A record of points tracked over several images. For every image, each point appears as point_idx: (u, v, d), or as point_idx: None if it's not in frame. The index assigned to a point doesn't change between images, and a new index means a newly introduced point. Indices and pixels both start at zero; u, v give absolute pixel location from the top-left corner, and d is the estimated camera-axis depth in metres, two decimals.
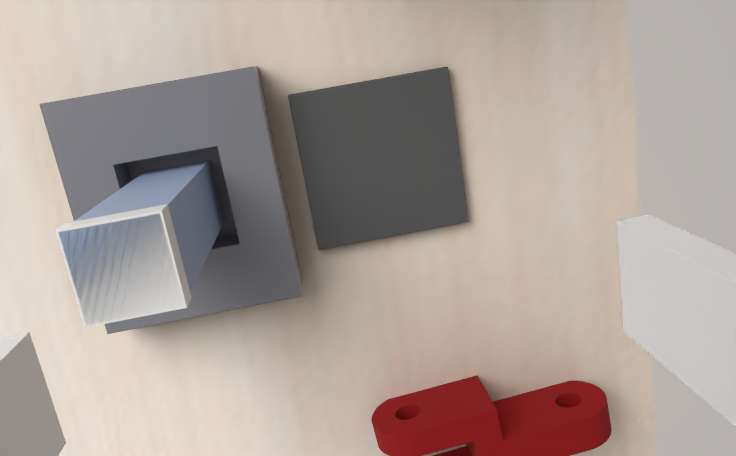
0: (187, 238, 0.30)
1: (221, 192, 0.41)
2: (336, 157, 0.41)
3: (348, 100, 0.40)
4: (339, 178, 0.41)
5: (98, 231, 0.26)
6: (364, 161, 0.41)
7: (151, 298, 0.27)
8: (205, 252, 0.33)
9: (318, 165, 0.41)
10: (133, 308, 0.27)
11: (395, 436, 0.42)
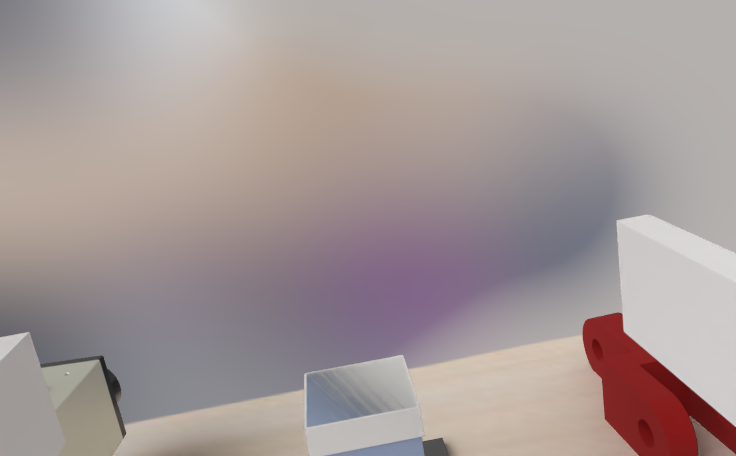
0: None
1: None
2: None
3: None
4: None
5: (313, 404, 0.25)
6: None
7: (390, 372, 0.26)
8: None
9: None
10: (400, 380, 0.25)
11: (658, 412, 0.39)
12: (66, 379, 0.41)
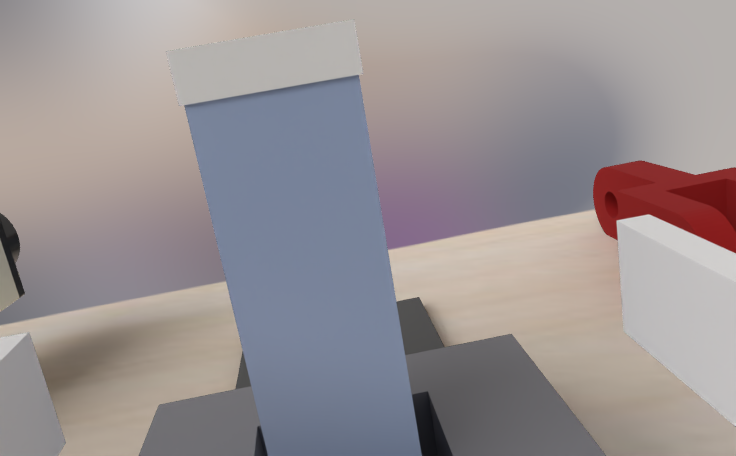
0: None
1: None
2: None
3: None
4: None
5: None
6: None
7: None
8: None
9: None
10: None
11: (693, 223, 0.30)
12: None
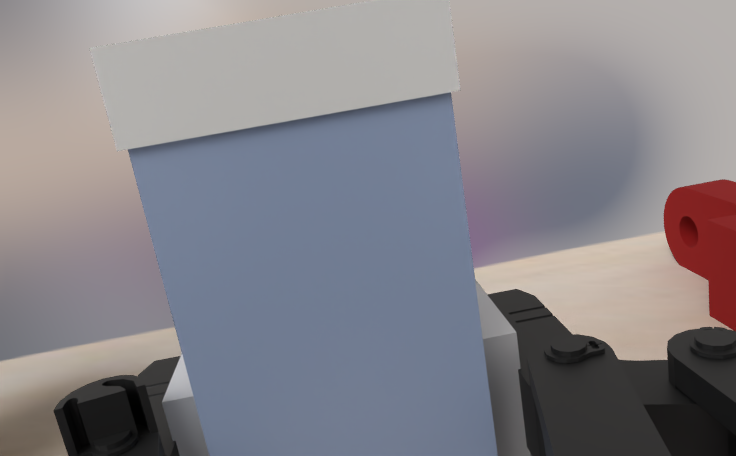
0: None
1: None
2: None
3: None
4: None
5: None
6: None
7: None
8: None
9: None
10: None
11: None
12: None
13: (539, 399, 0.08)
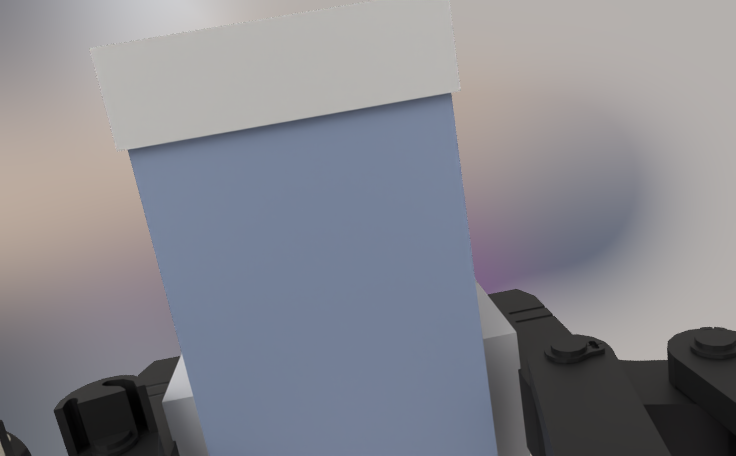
0: None
1: None
2: None
3: None
4: None
5: None
6: None
7: None
8: None
9: None
10: None
11: None
12: None
13: (539, 399, 0.08)
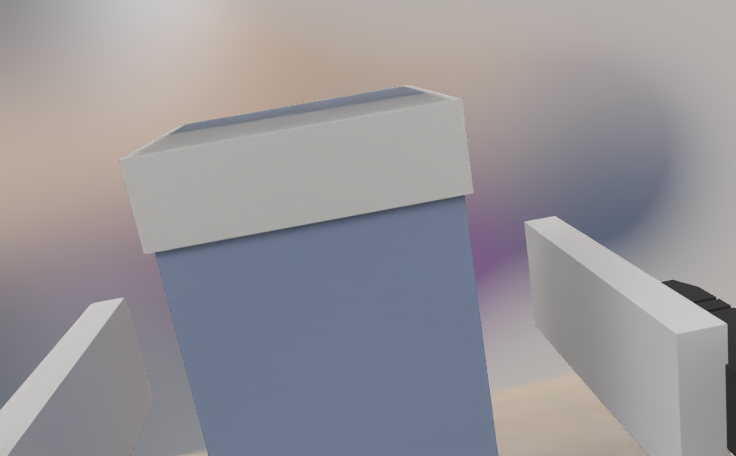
0: None
1: None
2: None
3: None
4: None
5: (174, 138, 0.09)
6: None
7: (379, 95, 0.11)
8: None
9: None
10: (403, 95, 0.10)
11: None
12: None
13: None
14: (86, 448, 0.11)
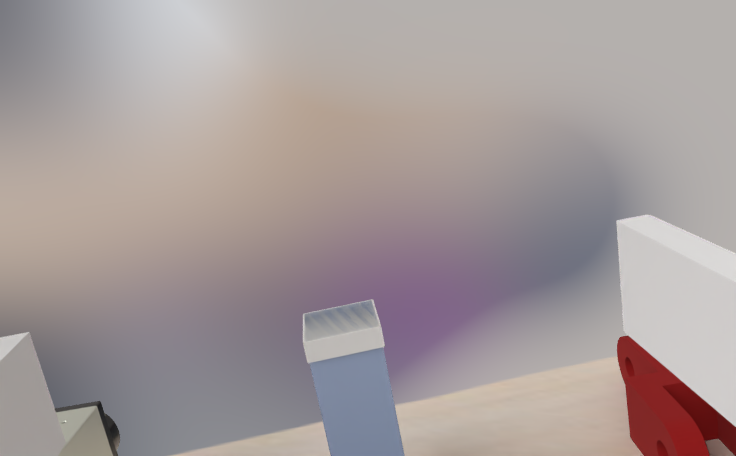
0: None
1: None
2: None
3: None
4: None
5: (309, 329, 0.36)
6: None
7: (363, 309, 0.37)
8: None
9: None
10: (369, 313, 0.36)
11: (673, 434, 0.39)
12: (62, 428, 0.40)
13: None
14: None
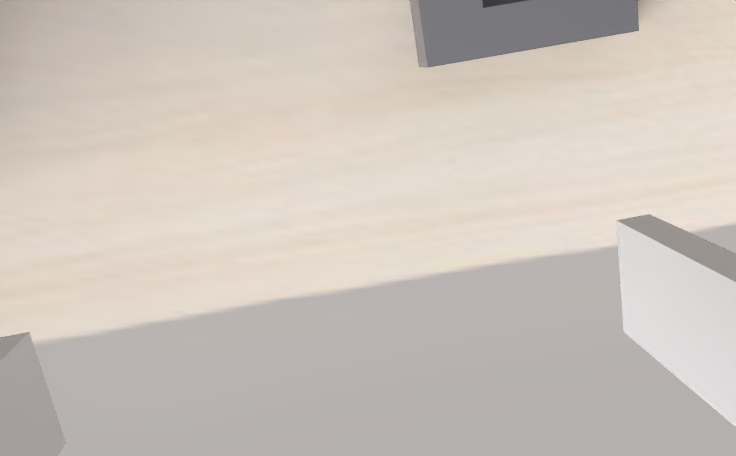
0: None
1: None
2: None
3: None
4: None
5: None
6: None
7: None
8: None
9: None
10: None
11: None
12: None
13: None
14: None
